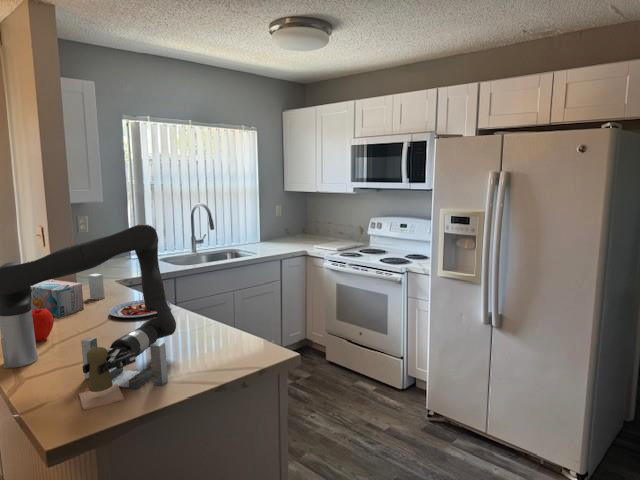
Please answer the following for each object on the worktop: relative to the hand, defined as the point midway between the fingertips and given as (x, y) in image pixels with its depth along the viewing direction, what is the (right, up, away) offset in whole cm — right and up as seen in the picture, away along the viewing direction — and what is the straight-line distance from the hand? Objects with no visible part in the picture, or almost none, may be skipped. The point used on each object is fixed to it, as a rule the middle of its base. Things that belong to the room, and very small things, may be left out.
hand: (91, 370), depth 124 cm
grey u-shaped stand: (+3, -7, +15) cm, 16 cm away
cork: (+1, -6, +4) cm, 7 cm away
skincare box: (-50, +6, +106) cm, 117 cm away
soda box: (-68, +3, +91) cm, 113 cm away
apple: (-44, -3, +50) cm, 67 cm away
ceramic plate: (-19, +3, +82) cm, 85 cm away
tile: (+1, -9, +4) cm, 9 cm away
